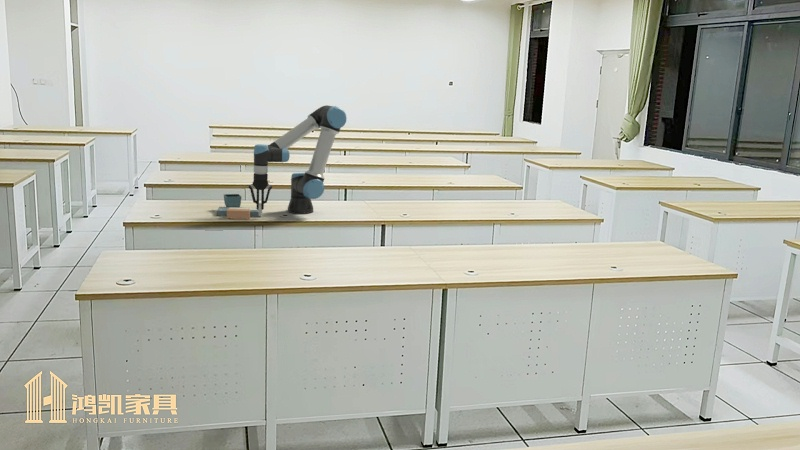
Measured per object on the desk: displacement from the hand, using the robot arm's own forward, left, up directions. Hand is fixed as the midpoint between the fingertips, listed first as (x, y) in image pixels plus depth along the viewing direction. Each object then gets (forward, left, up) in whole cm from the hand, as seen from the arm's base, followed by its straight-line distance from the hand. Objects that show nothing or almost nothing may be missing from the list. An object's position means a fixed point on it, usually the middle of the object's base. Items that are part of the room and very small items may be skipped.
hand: (259, 215), depth 372 cm
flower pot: (+17, -22, -2) cm, 28 cm away
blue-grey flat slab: (+12, -11, -2) cm, 16 cm away
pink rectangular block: (+12, -2, -2) cm, 12 cm away
